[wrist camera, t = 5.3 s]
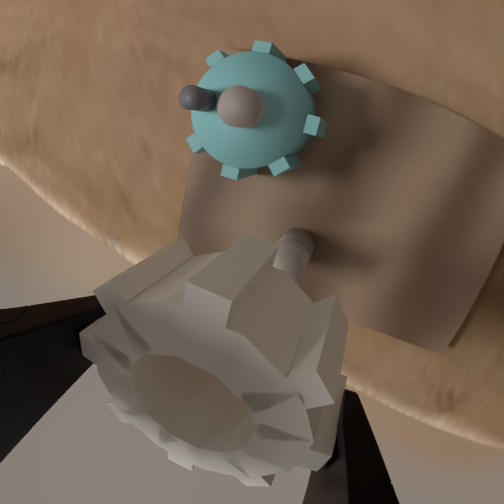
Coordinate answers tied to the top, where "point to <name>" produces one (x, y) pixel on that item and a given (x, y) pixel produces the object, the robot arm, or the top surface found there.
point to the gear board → (365, 206)
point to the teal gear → (275, 117)
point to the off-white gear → (222, 360)
